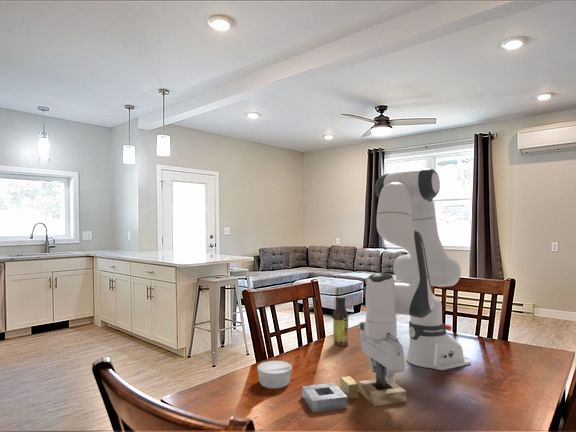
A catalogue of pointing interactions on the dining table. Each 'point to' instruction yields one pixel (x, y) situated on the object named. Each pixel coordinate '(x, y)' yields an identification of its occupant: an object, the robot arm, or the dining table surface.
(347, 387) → the bar
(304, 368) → the dining table surface
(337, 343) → the sauce bottle
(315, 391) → the socket plate
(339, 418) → the dining table surface
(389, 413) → the dining table surface
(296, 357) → the dining table surface
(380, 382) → the dark grey rounded rod
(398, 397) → the block
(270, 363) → the ramekin
